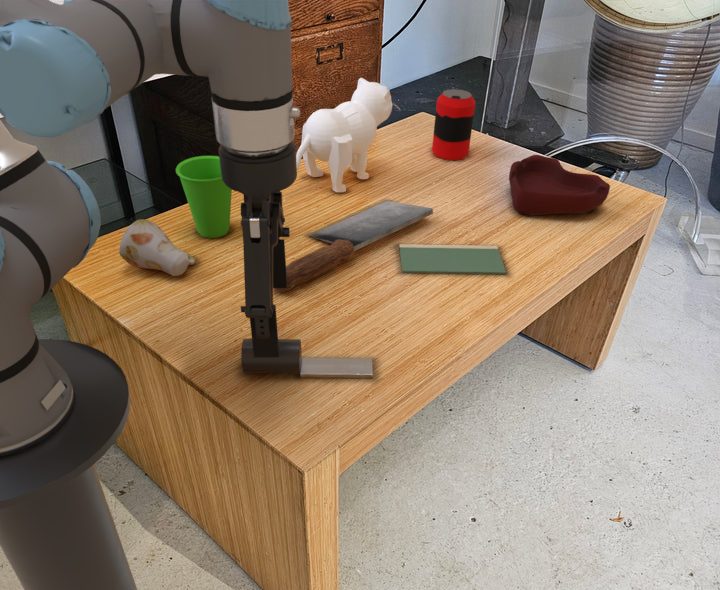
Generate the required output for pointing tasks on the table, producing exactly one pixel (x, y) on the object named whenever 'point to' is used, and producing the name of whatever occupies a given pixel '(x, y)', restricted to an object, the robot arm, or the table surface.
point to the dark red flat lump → (553, 188)
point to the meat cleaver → (352, 238)
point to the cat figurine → (345, 133)
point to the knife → (303, 362)
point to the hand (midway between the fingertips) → (271, 318)
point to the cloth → (451, 259)
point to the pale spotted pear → (152, 249)
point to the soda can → (453, 124)
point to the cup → (206, 194)
